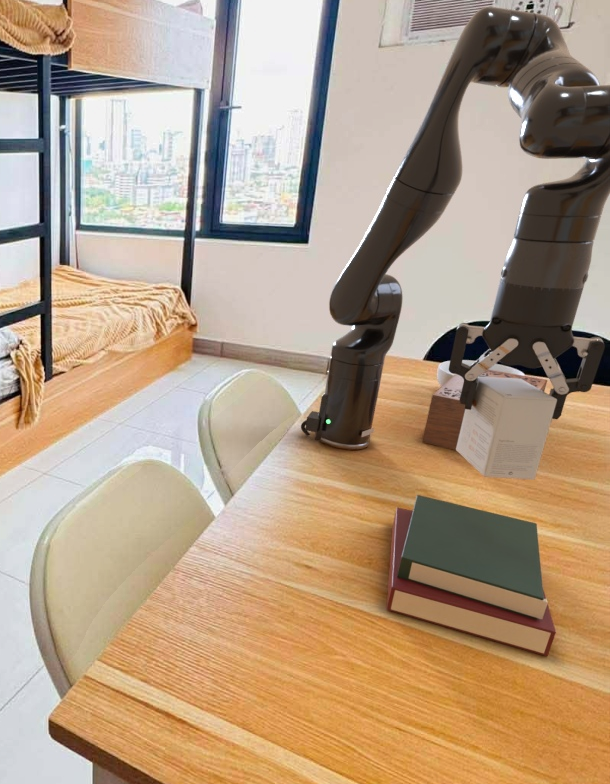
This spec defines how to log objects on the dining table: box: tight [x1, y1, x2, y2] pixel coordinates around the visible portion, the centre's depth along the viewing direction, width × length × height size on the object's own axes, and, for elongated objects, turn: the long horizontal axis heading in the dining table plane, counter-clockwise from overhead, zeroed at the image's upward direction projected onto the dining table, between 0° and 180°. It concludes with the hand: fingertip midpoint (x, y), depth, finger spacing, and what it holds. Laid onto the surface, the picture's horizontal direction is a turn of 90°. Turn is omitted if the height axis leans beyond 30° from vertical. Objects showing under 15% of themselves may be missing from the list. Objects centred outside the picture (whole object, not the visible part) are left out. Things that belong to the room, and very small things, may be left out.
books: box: [386, 494, 557, 657], centre depth 82 cm, size 16×22×6 cm
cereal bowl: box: [436, 359, 526, 388], centre depth 146 cm, size 17×17×7 cm
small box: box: [455, 377, 557, 481], centre depth 77 cm, size 8×6×10 cm
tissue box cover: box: [421, 370, 548, 451], centre depth 127 cm, size 26×14×10 cm, turn 135°
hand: (505, 413), depth 77 cm, fingers closed on small box, 7 cm apart
